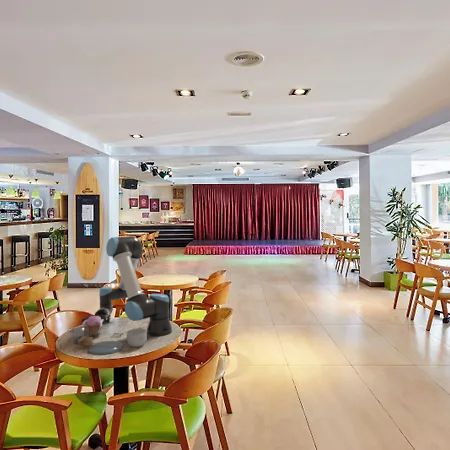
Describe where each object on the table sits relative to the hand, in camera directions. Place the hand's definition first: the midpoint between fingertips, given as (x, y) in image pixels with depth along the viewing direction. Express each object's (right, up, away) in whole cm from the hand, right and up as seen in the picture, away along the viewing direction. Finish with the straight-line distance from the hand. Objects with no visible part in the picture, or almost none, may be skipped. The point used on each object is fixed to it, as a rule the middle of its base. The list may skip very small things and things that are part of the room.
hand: (91, 324), depth 211 cm
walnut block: (0, -9, -10) cm, 14 cm away
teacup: (+29, -9, -8) cm, 31 cm away
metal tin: (-5, -9, -5) cm, 11 cm away
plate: (+13, -9, -15) cm, 21 cm away
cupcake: (0, -6, +5) cm, 8 cm away
